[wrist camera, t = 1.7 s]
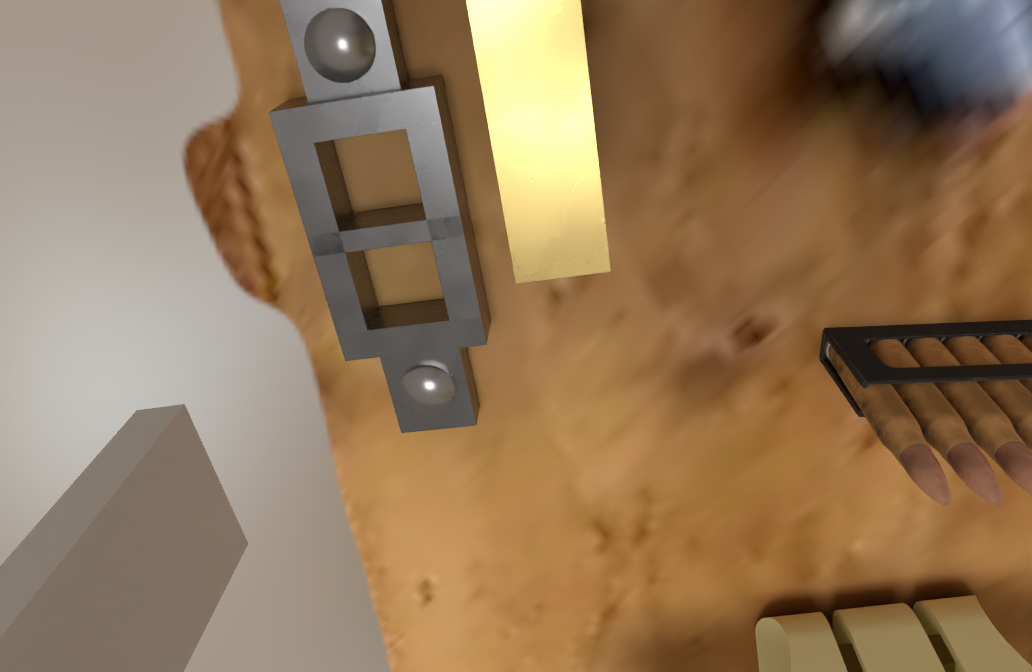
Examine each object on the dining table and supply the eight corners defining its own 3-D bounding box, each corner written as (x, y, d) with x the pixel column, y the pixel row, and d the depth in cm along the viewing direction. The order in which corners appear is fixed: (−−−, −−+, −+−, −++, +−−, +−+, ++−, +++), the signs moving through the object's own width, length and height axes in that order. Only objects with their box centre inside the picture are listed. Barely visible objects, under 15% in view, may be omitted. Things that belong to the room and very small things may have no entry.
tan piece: (494, -26, 31) (465, -4, 22) (573, -40, 30) (577, -24, 21) (527, 188, 35) (516, 283, 26) (597, 178, 35) (610, 271, 25)
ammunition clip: (1051, 318, 37) (1248, 477, 26) (1041, 352, 38) (1228, 518, 27) (823, 327, 38) (924, 485, 27) (818, 360, 38) (915, 524, 28)
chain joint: (235, -79, 30) (210, -79, 28) (405, -112, 29) (392, -114, 27) (380, 416, 41) (370, 443, 39) (507, 402, 41) (504, 430, 38)
